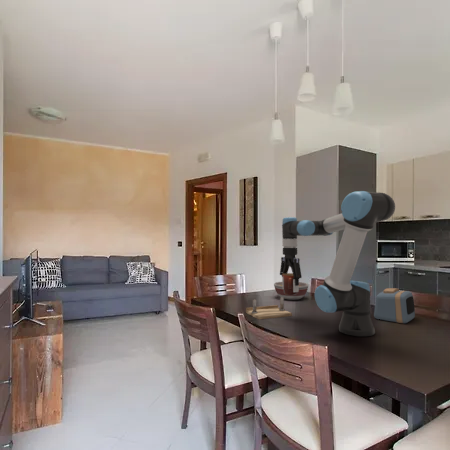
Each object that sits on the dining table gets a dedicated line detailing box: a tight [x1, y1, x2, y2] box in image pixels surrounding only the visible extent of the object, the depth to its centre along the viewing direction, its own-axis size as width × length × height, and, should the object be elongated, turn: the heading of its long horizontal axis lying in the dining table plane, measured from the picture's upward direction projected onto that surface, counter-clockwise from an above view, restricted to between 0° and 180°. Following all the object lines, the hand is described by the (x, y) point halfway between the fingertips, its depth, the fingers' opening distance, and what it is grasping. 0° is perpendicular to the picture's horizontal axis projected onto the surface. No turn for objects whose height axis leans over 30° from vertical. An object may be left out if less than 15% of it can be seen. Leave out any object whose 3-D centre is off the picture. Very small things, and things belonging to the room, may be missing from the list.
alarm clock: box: [373, 287, 416, 324], centre depth 180 cm, size 16×16×16 cm
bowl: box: [273, 281, 309, 301], centre depth 235 cm, size 23×23×10 cm
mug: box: [281, 272, 297, 295], centre depth 178 cm, size 12×9×10 cm
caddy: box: [245, 296, 293, 320], centre depth 190 cm, size 16×20×8 cm
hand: (290, 290), depth 179 cm, fingers closed on mug, 9 cm apart
